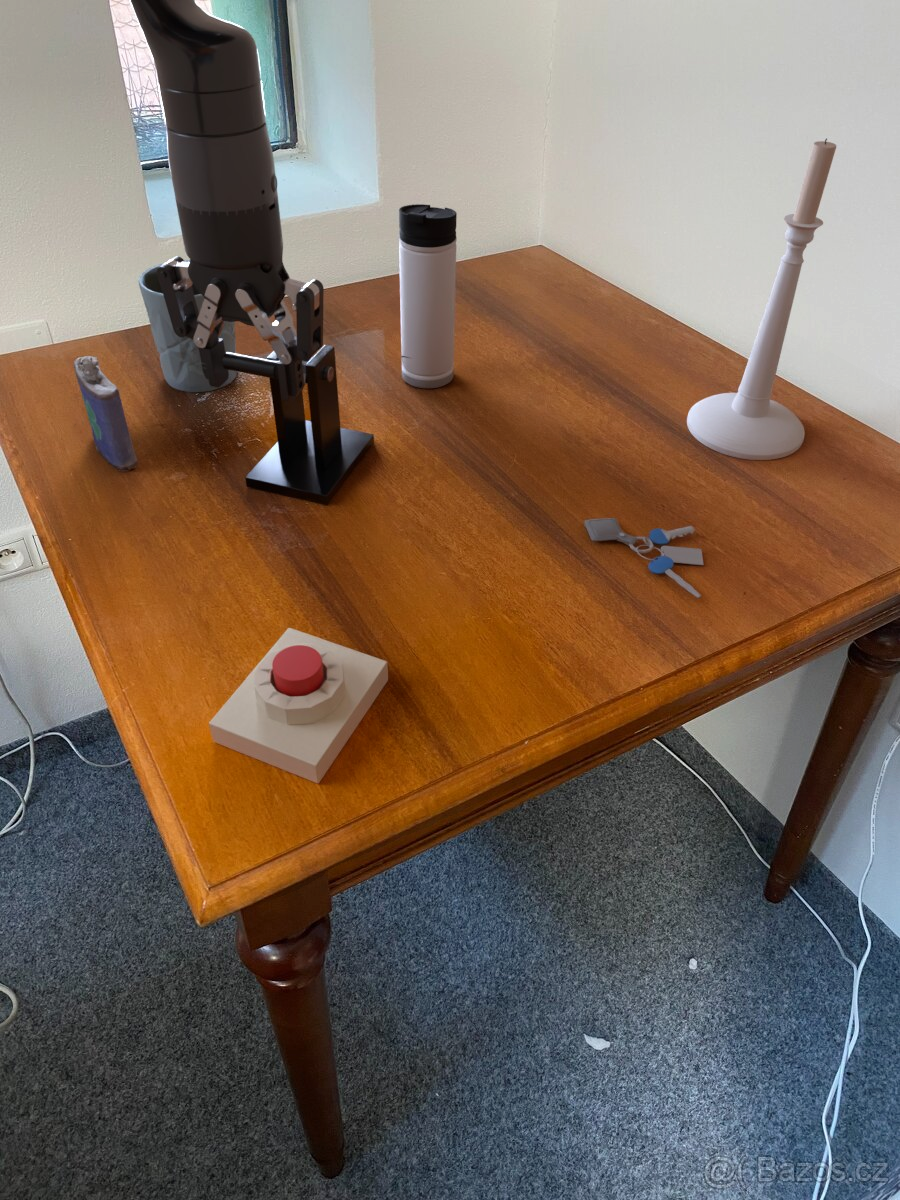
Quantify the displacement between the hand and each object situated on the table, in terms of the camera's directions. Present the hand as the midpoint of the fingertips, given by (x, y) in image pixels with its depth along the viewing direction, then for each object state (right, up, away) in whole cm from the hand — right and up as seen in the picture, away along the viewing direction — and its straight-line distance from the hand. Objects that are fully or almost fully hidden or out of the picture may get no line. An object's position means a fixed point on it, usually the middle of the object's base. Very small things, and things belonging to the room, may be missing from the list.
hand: (255, 389), depth 77 cm
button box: (+6, -27, -9) cm, 29 cm away
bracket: (+3, -4, +15) cm, 16 cm away
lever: (+1, +2, +4) cm, 4 cm away
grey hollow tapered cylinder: (-13, +9, +29) cm, 33 cm away
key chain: (+37, -13, +6) cm, 40 cm away
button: (+6, -24, -12) cm, 28 cm away
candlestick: (+50, +1, +22) cm, 55 cm away
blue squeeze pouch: (-19, -3, +17) cm, 25 cm away
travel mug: (+14, +8, +30) cm, 34 cm away
